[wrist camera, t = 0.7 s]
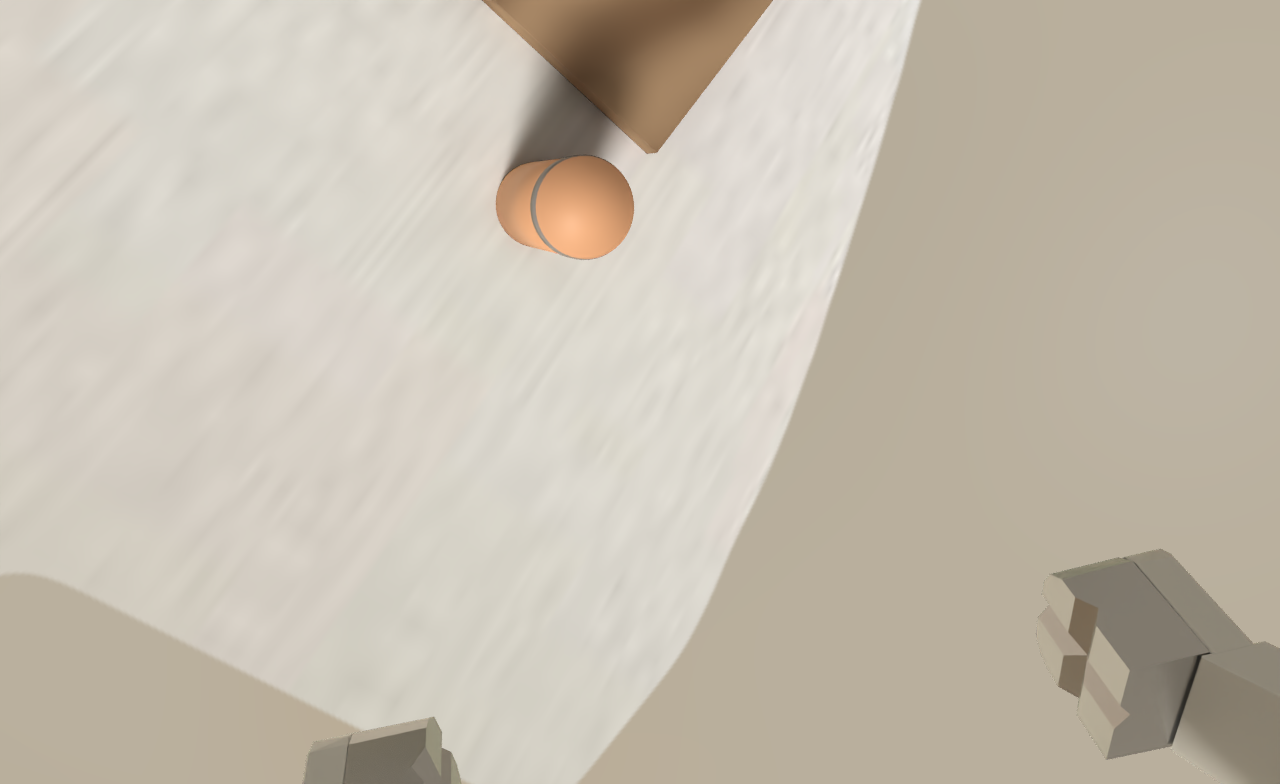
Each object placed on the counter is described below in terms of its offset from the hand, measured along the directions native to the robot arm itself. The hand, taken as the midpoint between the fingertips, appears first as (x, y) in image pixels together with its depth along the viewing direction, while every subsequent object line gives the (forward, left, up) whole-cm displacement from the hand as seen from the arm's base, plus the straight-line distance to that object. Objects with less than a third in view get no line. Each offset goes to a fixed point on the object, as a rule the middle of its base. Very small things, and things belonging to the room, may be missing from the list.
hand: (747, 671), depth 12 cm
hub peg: (+1, +8, -38) cm, 39 cm away
